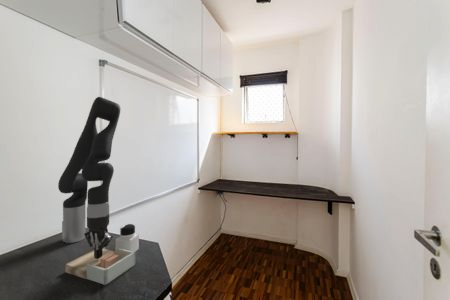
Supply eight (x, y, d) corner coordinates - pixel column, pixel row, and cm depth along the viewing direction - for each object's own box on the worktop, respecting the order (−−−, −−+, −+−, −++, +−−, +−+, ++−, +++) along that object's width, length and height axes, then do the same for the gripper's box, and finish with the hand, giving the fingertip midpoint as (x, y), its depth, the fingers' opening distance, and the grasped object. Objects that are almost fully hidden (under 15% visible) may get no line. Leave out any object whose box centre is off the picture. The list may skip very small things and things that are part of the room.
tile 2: (104, 260, 78) (108, 261, 77) (115, 254, 82) (118, 255, 82) (104, 272, 78) (108, 273, 78) (115, 265, 82) (118, 266, 82)
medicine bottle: (139, 248, 97) (139, 223, 97) (130, 256, 90) (130, 229, 90) (124, 247, 98) (124, 222, 98) (115, 255, 91) (115, 228, 91)
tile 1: (100, 258, 79) (104, 259, 78) (110, 253, 83) (114, 254, 83) (100, 270, 79) (104, 271, 79) (110, 264, 83) (114, 265, 83)
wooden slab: (65, 272, 79) (65, 264, 79) (99, 254, 92) (99, 247, 92) (85, 279, 75) (85, 270, 75) (118, 259, 88) (118, 252, 88)
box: (86, 278, 75) (86, 264, 75) (117, 259, 88) (118, 247, 88) (105, 285, 72) (105, 270, 72) (135, 264, 85) (135, 252, 84)
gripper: (76, 214, 81) (77, 259, 81) (101, 219, 76) (101, 266, 76) (95, 209, 88) (95, 250, 88) (119, 213, 83) (118, 256, 83)
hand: (98, 257), depth 82 cm, fingers closed
